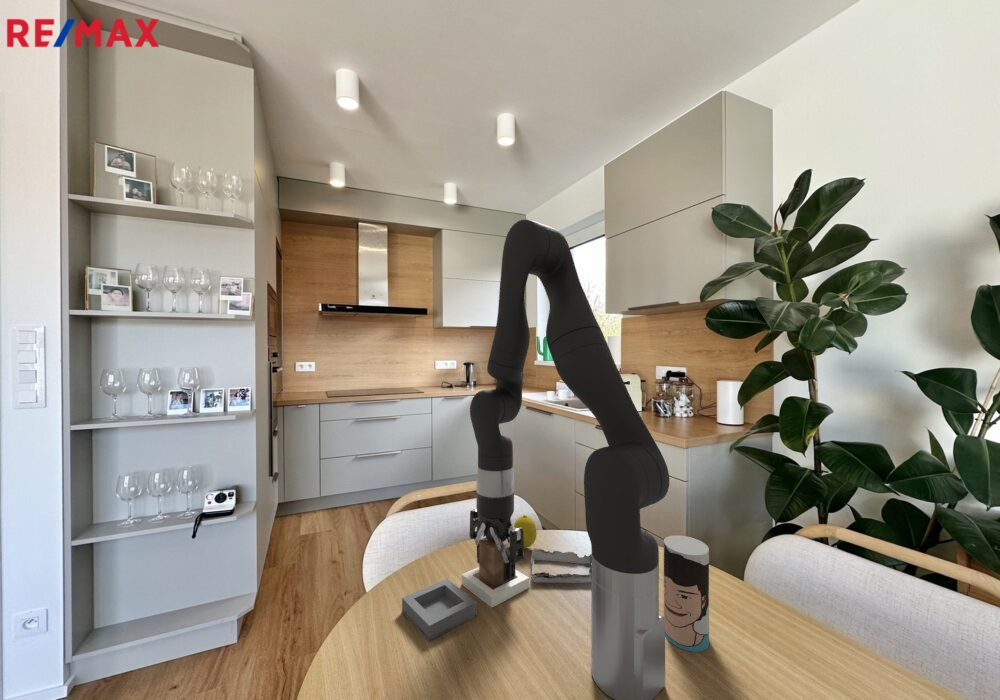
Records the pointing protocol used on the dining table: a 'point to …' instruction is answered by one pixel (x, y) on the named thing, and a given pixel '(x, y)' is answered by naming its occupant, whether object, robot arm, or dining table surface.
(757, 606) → the dining table surface
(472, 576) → the white pocket frame
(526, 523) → the lemon
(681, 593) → the cup
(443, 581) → the gray pocket tray
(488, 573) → the walnut block
